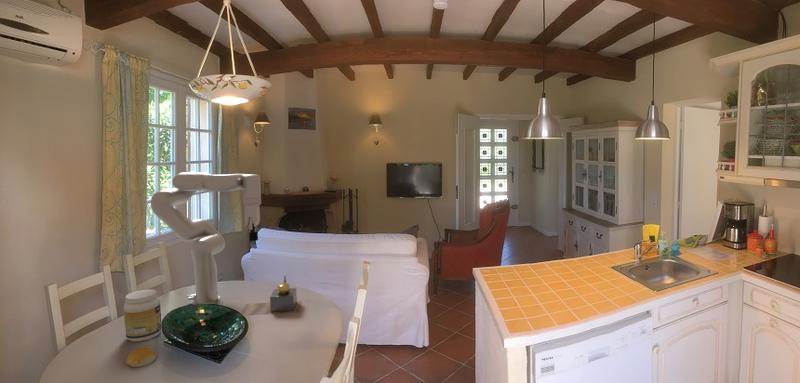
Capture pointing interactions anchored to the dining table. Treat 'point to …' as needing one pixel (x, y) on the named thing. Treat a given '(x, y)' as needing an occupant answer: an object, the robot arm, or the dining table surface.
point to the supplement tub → (142, 315)
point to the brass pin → (283, 288)
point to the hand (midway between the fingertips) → (253, 240)
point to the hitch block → (283, 301)
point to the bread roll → (141, 357)
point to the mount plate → (264, 309)
